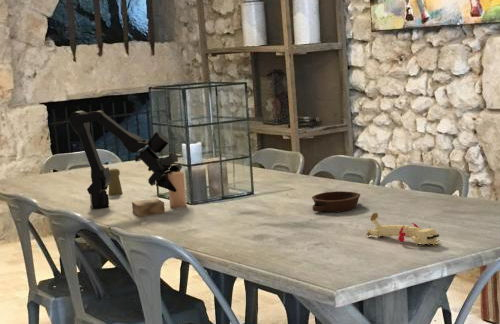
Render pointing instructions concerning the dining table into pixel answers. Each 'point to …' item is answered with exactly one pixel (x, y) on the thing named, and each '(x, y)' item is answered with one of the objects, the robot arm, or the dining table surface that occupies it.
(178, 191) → the salmon pink block
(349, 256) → the dining table surface
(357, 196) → the dish
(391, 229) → the cat figure
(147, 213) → the walnut riser
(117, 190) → the olive chess pawn
